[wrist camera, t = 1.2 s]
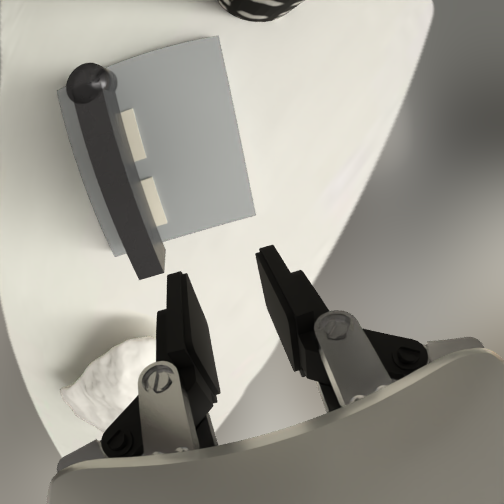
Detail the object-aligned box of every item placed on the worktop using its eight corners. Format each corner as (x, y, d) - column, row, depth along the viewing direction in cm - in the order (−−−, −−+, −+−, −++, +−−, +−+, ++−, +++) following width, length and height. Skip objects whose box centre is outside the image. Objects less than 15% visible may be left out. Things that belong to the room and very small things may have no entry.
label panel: (62, 90, 19) (49, 90, 16) (216, 39, 20) (221, 30, 18) (117, 250, 29) (111, 265, 26) (252, 210, 31) (260, 222, 28)
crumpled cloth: (71, 415, 42) (74, 452, 34) (47, 296, 28) (35, 352, 20) (171, 419, 53) (181, 453, 46) (212, 313, 39) (232, 363, 32)
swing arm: (80, 77, 16) (62, 74, 13) (113, 63, 17) (100, 56, 13) (140, 258, 26) (135, 281, 23) (169, 249, 27) (168, 271, 23)
